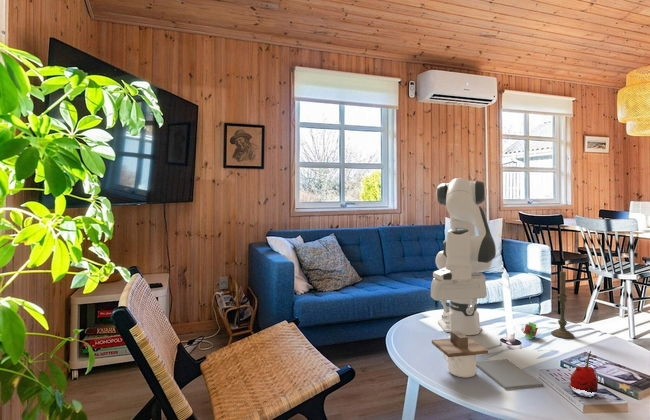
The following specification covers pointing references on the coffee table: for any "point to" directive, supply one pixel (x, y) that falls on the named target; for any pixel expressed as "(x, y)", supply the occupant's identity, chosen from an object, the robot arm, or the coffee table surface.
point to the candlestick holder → (562, 311)
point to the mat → (508, 374)
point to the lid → (459, 345)
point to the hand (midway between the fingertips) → (458, 311)
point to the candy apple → (585, 378)
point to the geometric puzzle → (529, 330)
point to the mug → (462, 365)
